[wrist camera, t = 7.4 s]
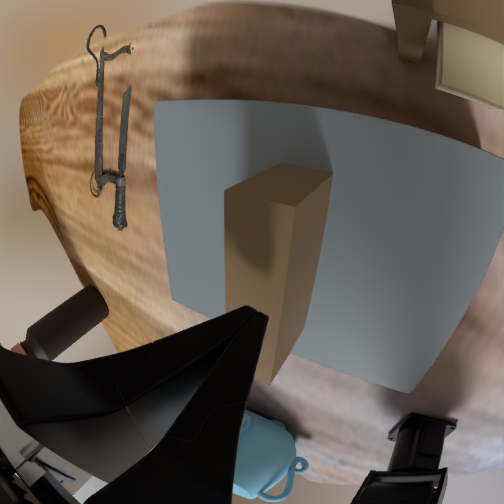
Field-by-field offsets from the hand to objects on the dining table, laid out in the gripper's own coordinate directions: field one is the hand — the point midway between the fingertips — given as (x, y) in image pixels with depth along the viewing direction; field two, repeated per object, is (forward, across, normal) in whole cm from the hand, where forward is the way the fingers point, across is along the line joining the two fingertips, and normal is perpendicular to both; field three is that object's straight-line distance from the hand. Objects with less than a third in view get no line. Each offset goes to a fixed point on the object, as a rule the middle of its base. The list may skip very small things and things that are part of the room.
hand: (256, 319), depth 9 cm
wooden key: (+5, -3, -14) cm, 15 cm away
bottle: (+12, +34, +32) cm, 48 cm away
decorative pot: (+12, -1, +37) cm, 39 cm away
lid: (+7, +1, +1) cm, 7 cm away
